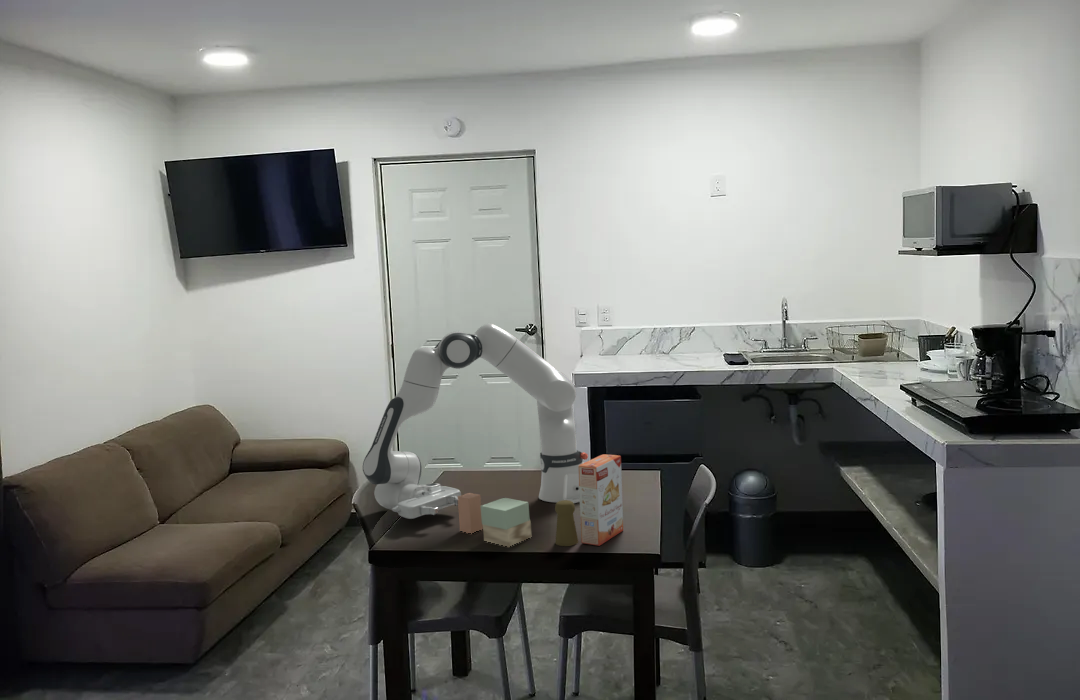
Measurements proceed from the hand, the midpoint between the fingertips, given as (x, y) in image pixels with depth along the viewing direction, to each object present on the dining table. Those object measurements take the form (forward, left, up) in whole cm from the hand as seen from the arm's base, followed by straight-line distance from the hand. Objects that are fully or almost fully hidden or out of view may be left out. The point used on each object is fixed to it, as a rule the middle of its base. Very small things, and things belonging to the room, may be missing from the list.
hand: (448, 506), depth 240 cm
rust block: (-4, +8, -5) cm, 10 cm away
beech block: (-11, +20, -6) cm, 24 cm away
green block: (-11, +20, -1) cm, 23 cm away
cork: (-24, +30, -6) cm, 39 cm away
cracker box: (-34, +31, -6) cm, 46 cm away
